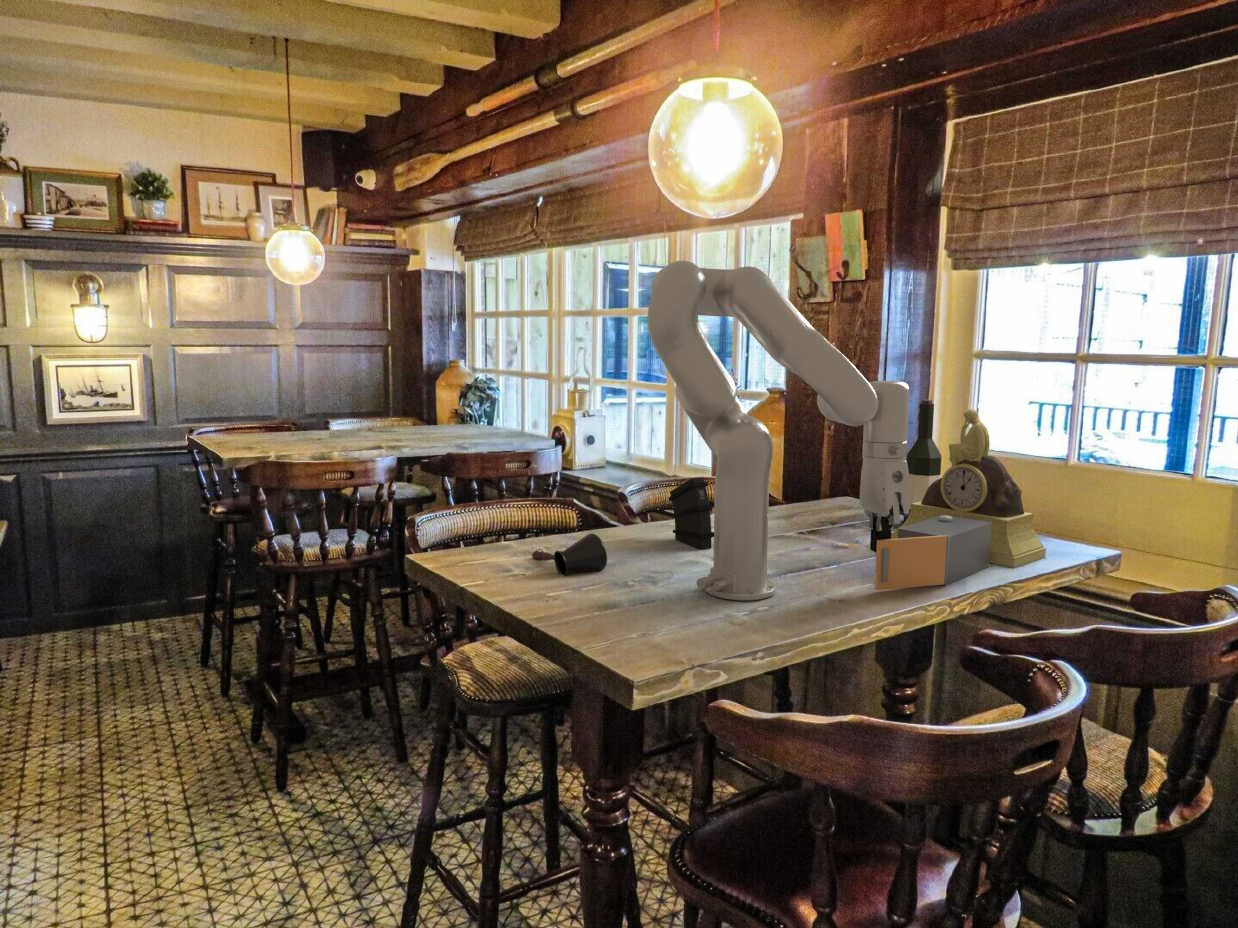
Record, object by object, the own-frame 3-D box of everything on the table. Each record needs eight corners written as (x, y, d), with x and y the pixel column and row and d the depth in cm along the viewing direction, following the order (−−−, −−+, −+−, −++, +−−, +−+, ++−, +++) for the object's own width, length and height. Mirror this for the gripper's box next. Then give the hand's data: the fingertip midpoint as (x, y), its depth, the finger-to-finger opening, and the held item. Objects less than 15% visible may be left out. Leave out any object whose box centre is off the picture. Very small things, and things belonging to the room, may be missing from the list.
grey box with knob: (946, 585, 158) (949, 533, 156) (896, 574, 165) (898, 524, 163) (994, 564, 172) (997, 516, 170) (946, 555, 179) (948, 509, 177)
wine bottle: (944, 528, 204) (951, 401, 199) (908, 527, 204) (915, 401, 199) (931, 520, 212) (938, 398, 207) (897, 520, 212) (903, 398, 207)
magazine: (706, 546, 180) (691, 478, 184) (677, 559, 192) (663, 494, 195) (721, 544, 182) (706, 476, 186) (692, 557, 193) (678, 493, 197)
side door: (949, 584, 156) (952, 536, 155) (878, 591, 153) (881, 541, 151) (944, 582, 158) (947, 534, 156) (874, 588, 154) (876, 539, 153)
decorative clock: (890, 541, 191) (896, 407, 187) (923, 533, 199) (929, 403, 195) (1014, 568, 169) (1024, 416, 165) (1045, 557, 177) (1056, 412, 173)
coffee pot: (611, 571, 166) (573, 584, 162) (569, 562, 182) (533, 574, 178) (603, 533, 166) (564, 546, 161) (562, 527, 181) (525, 539, 177)
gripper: (926, 455, 146) (921, 560, 149) (882, 444, 161) (878, 540, 164) (886, 457, 145) (882, 563, 148) (845, 446, 159) (842, 542, 162)
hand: (880, 550), depth 156 cm, fingers closed
